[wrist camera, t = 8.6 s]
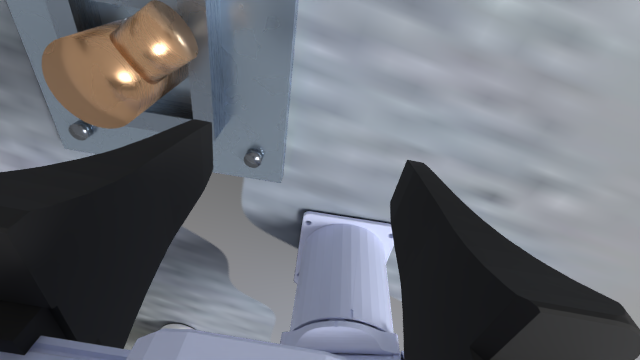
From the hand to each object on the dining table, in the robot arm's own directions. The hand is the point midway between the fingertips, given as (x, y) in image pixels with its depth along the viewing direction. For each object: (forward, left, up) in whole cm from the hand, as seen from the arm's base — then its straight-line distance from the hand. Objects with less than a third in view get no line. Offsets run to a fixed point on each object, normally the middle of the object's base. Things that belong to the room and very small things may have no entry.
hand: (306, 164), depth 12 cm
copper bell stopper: (0, +10, -9) cm, 13 cm away
